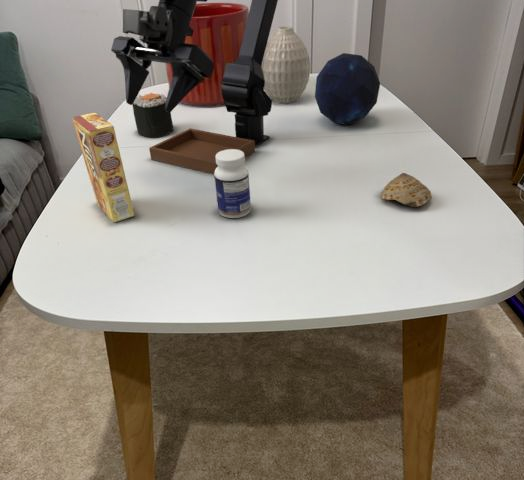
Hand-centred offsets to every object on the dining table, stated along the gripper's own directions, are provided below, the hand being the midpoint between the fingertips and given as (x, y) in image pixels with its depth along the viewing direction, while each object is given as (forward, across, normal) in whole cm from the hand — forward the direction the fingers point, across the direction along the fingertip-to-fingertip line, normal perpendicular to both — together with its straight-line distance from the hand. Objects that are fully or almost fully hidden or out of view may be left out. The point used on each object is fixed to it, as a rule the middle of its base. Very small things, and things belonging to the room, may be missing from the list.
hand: (147, 107), depth 87 cm
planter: (-21, -31, +50) cm, 63 cm away
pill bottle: (+12, +18, +8) cm, 23 cm away
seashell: (0, +41, +23) cm, 48 cm away
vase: (-24, -10, +55) cm, 61 cm away
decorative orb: (-19, +12, +48) cm, 54 cm away
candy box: (+18, -1, 0) cm, 19 cm away
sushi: (-3, -24, +27) cm, 36 cm away
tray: (+1, -4, +22) cm, 22 cm away
